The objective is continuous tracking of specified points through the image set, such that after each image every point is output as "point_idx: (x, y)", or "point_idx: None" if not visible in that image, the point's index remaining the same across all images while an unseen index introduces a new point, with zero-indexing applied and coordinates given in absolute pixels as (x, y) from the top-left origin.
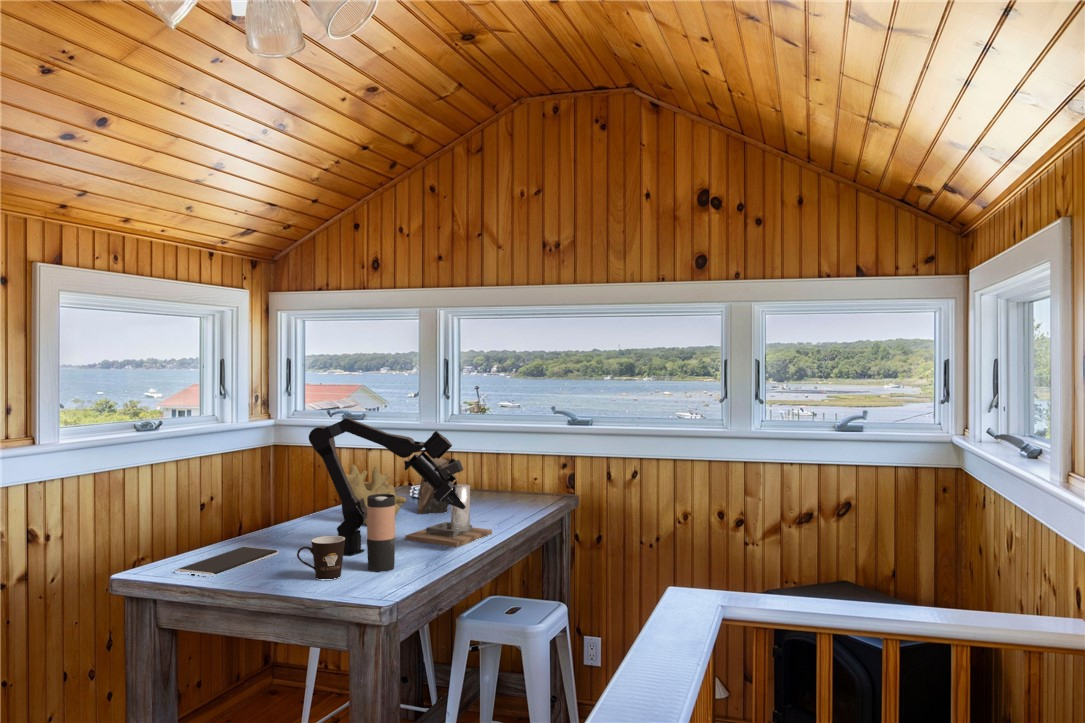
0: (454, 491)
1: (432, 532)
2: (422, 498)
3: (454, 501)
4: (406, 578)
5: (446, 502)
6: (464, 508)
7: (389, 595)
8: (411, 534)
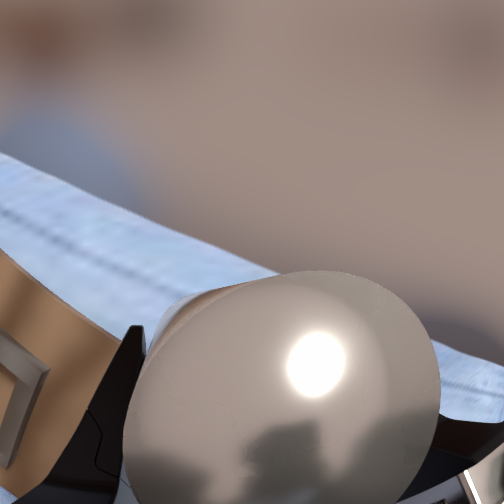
0: (465, 426)
1: (17, 445)
2: None
3: None
4: (446, 408)
5: None
6: None
7: (499, 391)
8: None
